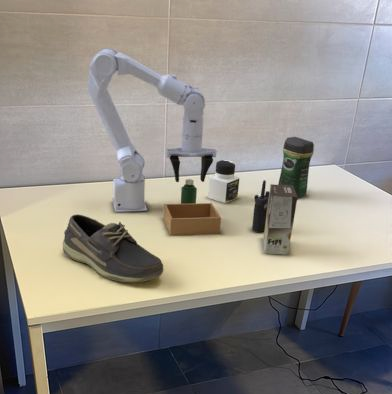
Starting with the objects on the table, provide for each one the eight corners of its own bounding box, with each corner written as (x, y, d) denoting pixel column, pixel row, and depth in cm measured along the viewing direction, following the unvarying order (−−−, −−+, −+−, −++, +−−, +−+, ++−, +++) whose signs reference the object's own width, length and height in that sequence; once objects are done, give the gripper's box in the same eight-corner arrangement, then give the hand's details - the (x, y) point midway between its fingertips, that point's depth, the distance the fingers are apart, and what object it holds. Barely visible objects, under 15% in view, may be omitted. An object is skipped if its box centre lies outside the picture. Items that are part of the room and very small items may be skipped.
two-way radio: (258, 234, 153) (265, 182, 146) (245, 229, 156) (251, 178, 148) (269, 229, 157) (276, 178, 149) (257, 224, 159) (263, 174, 152)
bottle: (181, 213, 163) (183, 183, 158) (179, 207, 167) (180, 177, 162) (196, 212, 164) (198, 182, 159) (193, 207, 168) (195, 177, 163)
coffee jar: (309, 196, 183) (319, 140, 174) (294, 200, 179) (303, 143, 169) (288, 187, 189) (297, 133, 180) (273, 191, 185) (280, 136, 175)
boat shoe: (144, 294, 121) (145, 251, 115) (48, 257, 133) (45, 216, 128) (171, 276, 129) (173, 234, 123) (79, 242, 141) (77, 203, 136)
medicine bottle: (225, 203, 172) (228, 166, 166) (207, 198, 175) (210, 161, 169) (237, 198, 177) (241, 162, 171) (219, 192, 180) (223, 157, 174)
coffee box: (288, 255, 143) (298, 197, 134) (264, 253, 143) (272, 195, 134) (285, 240, 151) (294, 185, 142) (262, 239, 150) (269, 183, 142)
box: (170, 235, 149) (170, 219, 147) (163, 219, 158) (163, 203, 156) (219, 233, 152) (221, 217, 150) (210, 217, 161) (211, 203, 159)
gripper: (169, 138, 149) (167, 185, 156) (220, 138, 152) (216, 185, 159) (165, 131, 155) (163, 177, 162) (214, 131, 158) (210, 177, 165)
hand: (189, 180), depth 161 cm, fingers open, 7 cm apart
